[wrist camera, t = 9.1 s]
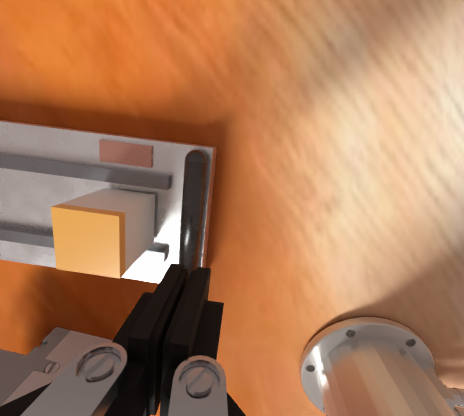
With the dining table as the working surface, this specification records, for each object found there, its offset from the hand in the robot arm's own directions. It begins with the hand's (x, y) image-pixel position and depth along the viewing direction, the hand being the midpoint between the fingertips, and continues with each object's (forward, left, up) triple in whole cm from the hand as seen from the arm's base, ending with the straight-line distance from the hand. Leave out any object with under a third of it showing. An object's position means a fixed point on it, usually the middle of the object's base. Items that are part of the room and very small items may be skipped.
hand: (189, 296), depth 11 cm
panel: (+15, 0, -12) cm, 19 cm away
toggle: (+7, 0, -9) cm, 12 cm away
